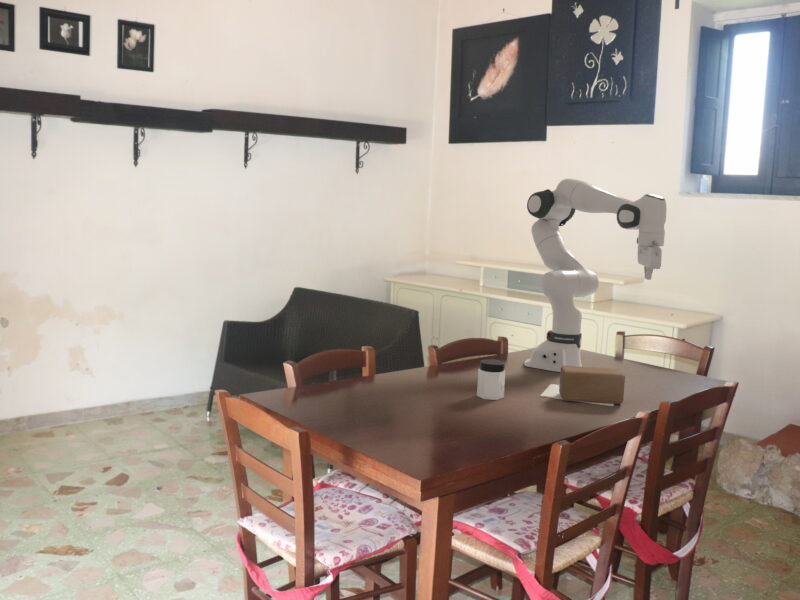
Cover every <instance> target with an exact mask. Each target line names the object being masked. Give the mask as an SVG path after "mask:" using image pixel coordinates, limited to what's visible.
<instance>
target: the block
mask: <svg viewBox="0 0 800 600" xmlns="http://www.w3.org/2000/svg"><path fill="white" fill-rule="evenodd" d="M559 373H560V374H559V384H558V385H559V392H560V395H561V397H562V399H563V401H566V402H568V401H569V402H577V401H582V402H581V403H584V402H600V403H614V404H618V405H621V404H622V403H623V402H624V395H625V394H624V393H625V383H626V382H625V381H626V375H625V374H624V373H623V372H622V371H621V370H620V369H619V368H614V367H613V368H612V367H611V368H609V367H595V366H582V367H579V366H562V367H561V371H560V372H559ZM562 399H561V400H562Z"/></svg>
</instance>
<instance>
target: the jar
mask: <svg viewBox="0 0 800 600" xmlns="http://www.w3.org/2000/svg"><path fill="white" fill-rule="evenodd" d="M505 365H506V364H505V362H504V361H502V360H499V359H490V358H489V359H482V360H480V361H479V368H478V369H477V371H478V372H477V385H476V386H477V388H476V390H477V391H476V397H479V398H480V399H482V400H487V401H488V400H489V401H498V400H501V399H504V398H505V385H506V384H505V383H506V370H505Z"/></svg>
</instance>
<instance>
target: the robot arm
mask: <svg viewBox="0 0 800 600" xmlns="http://www.w3.org/2000/svg"><path fill="white" fill-rule="evenodd" d="M526 203H527V204H526V210H527V212H528V213H529V215H531V216H532V217H534V218H536V219H538V220H536V221H535V222H534V223H533V224H532V226H531V230H530V231H531V235H532V239H533V242H534V245H535V247H536V249H537V251H538V253H539V255H540V258H541V259H542V262H543V263H544V266H545V267H546V268H548V269H549V270H550V271H547V272H545V273H544V274H542V277H541V279H540V282H539V283H540V285H539V287H540V290H541V292H542V293H543V295H544V296H545V297H546V298H547V300H548V301H549V303H550V305H551V311H552V324H551V325H552V326H551V327H552V328H551V329H549V330H548V331H547V332H546V340H545V341H543V342H541V343H540V344H538V345H536V346H535V347H534V348H533V349H532V351H531V354H530V358H527V359H526V360H525V361H524V366H525V367H529V368H534V369H539V370H546V371H551V372H557V373H560V371H561V367H562V366H579V367H583V365H582V360H581V348H582V342H583V341H582V335H583V334H582V332H581V331H582V319H583V315H582V312H581V311H580V310H579V309H578V308H576V306H575V303H574V298H584V297H588V296H590V295H594V294H595V293H596V292H597V290H598V289H599V277H598V275H597V274H596V273H595V272H594V271H593V270H591V269H589V268H587V267H586V266H584V265H583V264H582V263H581V262H580V261H579V260H578V259H577V258H576V257H575V256H574V254H573V253H572V252H571V250H570V249H569V247H568V245H567V243H566V241H565V239H564V237H563V235H562V233H561V232H560V229H559V228H560V227H563V226H565V225H566V223H567V222H569V221H570V220H571V219H572V218H573V217H574V215H575V213H576V211H579V212H582V213H589V214H603V213H604V214H606V213H607V214H616V222H617V224H618V225H619V227H621V228H622V229H626V230H634V231H635V230H638V235H637V238H636V244H637V263H638V264H639V265H641V266H643V271H644V277H643V278H644V279H646V280H648V281H649V280H652V275H653V272H654V270H660V269H661V268H662V258H663V257H662V255H663V254H662V253H663V251H662V248H661V247H664V245H665V235H666V234H665V233H666V232H665V224H666V221H667V201H666V199H665V198H664V197H663V196H661V195H658V194H653V193H646V194H644V195H643V196H641V197H640V198H638V199H637V200H633V201H632V200H629V199H626V198H623V197H620V196H617V195H615V194H613V193H611V192H609V191H606V190H604V189H601V188H599V187H598V186H595V185H593V184H592V183H589V182H586V181H584V180H579V179H574V178H564V179H562V180H560V181H559V183H558V184H557V186H556V188H555V189H554V190H551V189H548V188H547V189H544V190H541V191H536V192H533V193H532V194H531V195H530V196H529V197H528V199H527V202H526Z"/></svg>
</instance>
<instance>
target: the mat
mask: <svg viewBox="0 0 800 600" xmlns="http://www.w3.org/2000/svg"><path fill="white" fill-rule="evenodd" d="M559 385H560V384H554V383H553V384H552V383H550V384H549V385H548V387H547V388H546V389H545V390H544V391H543V392H542V393H541V394H540V397H541V398H547V399H548V398H549V399H553V400H554V399H555V400H556V399H557V400H563V399H562V397H561V395H560V392H559ZM563 401H564V400H563ZM576 402H578V403H586V404H592V405H601V406H609V407H614V405H615V403H600V402H582V401H576Z"/></svg>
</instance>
